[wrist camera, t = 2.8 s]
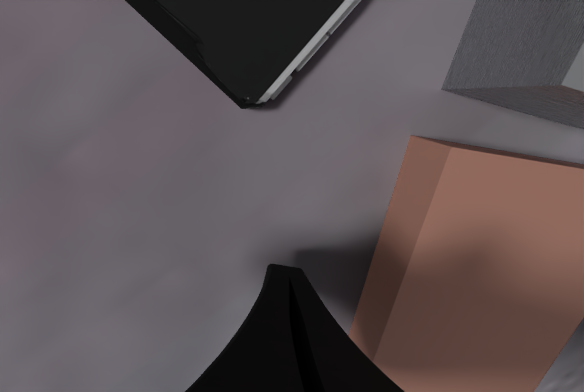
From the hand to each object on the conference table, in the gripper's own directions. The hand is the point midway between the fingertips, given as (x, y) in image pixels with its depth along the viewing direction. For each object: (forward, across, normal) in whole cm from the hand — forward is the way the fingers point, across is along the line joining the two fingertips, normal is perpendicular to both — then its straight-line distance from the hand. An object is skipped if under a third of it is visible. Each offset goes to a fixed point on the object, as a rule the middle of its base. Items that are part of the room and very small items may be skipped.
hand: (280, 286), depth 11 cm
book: (+2, -8, 0) cm, 8 cm away
